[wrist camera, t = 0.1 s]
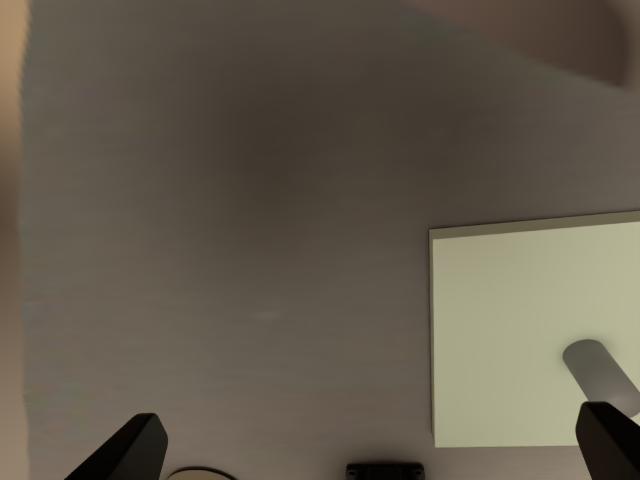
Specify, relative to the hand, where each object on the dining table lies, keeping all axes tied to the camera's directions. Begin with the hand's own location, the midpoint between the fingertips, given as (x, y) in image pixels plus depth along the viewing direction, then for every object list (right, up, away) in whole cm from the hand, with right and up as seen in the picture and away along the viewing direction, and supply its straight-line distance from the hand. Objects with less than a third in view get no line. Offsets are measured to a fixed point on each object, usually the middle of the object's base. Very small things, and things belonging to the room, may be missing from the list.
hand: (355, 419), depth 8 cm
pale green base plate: (+16, -3, +17) cm, 23 cm away
